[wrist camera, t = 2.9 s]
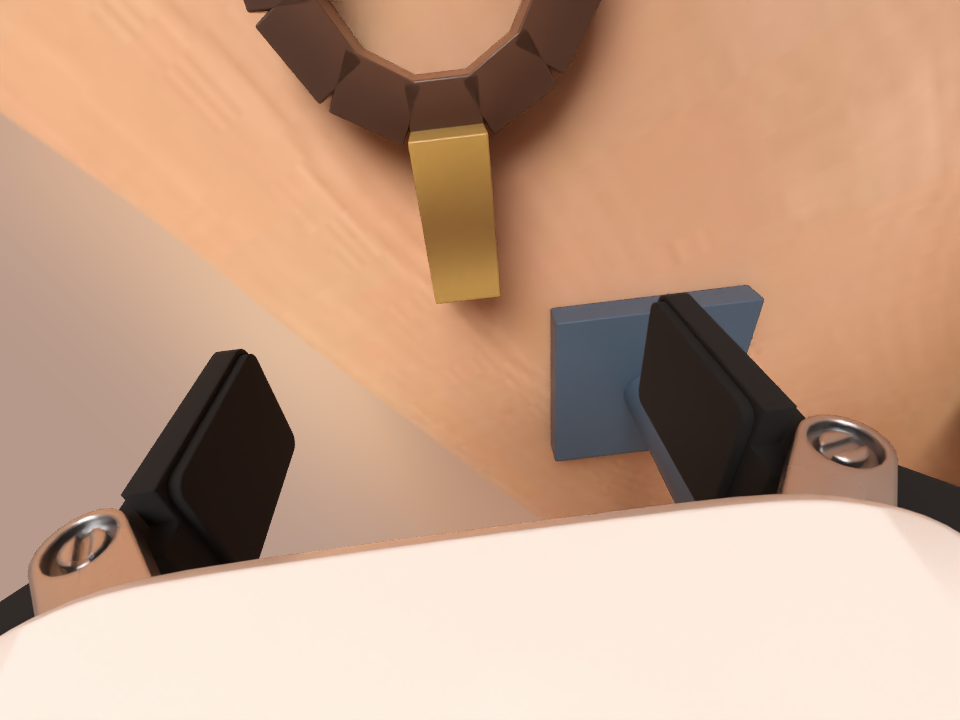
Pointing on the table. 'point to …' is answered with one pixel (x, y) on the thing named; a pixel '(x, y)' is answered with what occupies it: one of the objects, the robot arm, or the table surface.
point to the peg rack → (622, 375)
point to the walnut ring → (435, 115)
